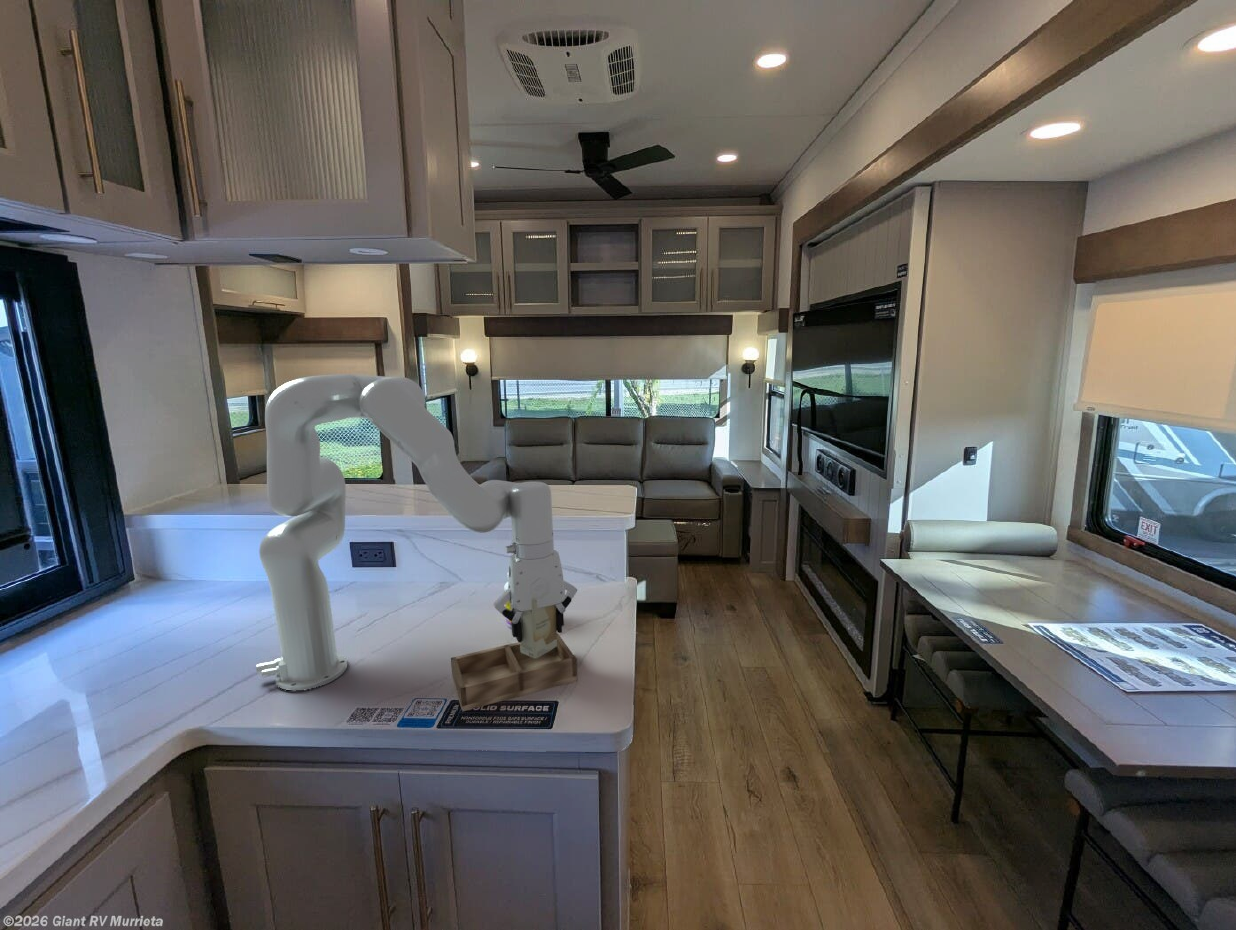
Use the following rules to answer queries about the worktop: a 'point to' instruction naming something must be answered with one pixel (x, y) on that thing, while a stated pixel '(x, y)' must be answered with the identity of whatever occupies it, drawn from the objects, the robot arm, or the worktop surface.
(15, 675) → the worktop surface
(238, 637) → the worktop surface
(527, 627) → the skincare box
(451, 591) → the worktop surface
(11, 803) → the worktop surface
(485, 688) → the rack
